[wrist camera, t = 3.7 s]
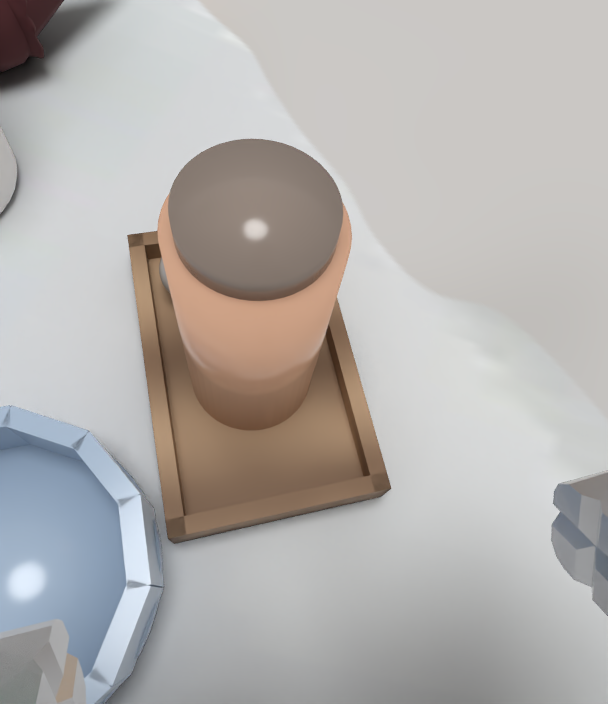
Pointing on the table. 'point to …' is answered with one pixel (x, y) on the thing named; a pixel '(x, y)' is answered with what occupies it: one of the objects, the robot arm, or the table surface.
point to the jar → (253, 275)
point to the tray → (250, 445)
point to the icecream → (23, 29)
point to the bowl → (76, 546)
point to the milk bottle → (6, 171)
